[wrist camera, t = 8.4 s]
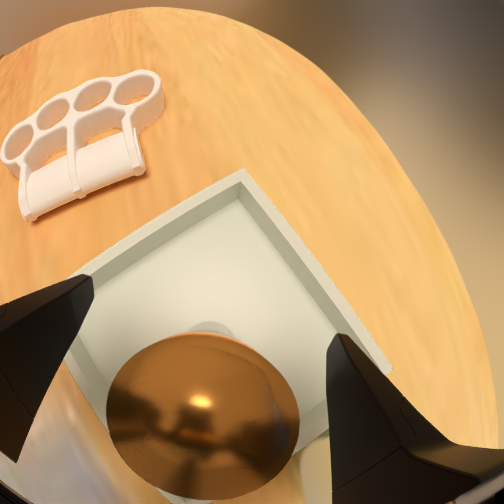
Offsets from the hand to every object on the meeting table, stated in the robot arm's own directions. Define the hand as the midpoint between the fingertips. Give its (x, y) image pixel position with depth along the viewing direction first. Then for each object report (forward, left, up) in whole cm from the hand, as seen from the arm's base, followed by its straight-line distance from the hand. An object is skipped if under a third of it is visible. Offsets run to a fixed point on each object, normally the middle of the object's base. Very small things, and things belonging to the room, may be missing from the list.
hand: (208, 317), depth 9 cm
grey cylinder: (-1, +1, -9) cm, 9 cm away
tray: (-1, +1, -10) cm, 10 cm away
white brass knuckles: (+21, +2, -10) cm, 24 cm away
